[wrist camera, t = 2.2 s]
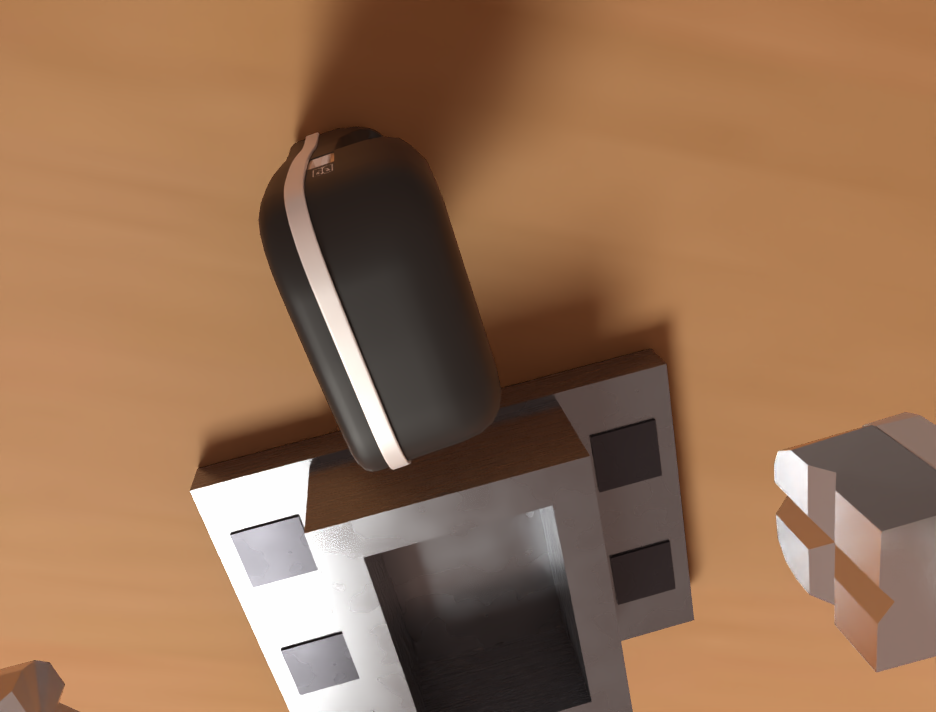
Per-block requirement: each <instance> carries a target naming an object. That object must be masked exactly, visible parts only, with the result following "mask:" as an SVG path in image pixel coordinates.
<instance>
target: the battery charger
mask: <svg viewBox="0 0 936 712" xmlns="http://www.w3.org/2000/svg"><path fill="white" fill-rule="evenodd" d="M259 228H260V235H261V239H262V243H263V247H264V251H265V254H266V257H267V260H268V263H269V266H270V269H271V272H272V275H273V277H274V280H275V282H276V285H277V287H278V289H279V292H280V294H281V297H282V299H283V301H284V304H285V306H286V308H287V311H288V313H289V315H290V318H291V320H292V322H293V324H294V327H295V329H296V331H297V334H298V336H299V338H300V341H301V343H302V345H303V348H304V350H305V352H306V354H307V357H308V359H309V361H310V364H311V366H312V368H313V371H314V373H315V375H316V377H317V379H318V382H319V384H320V386H321V388H322V391H323V393H324V395H325V397H326V400H327V402H328V404H329V406H330V408H331V411H332V413H333V415H334V417H335V420H336V422H337V424H338V426H339V429H340V431H341V433H342V435H343V437H344V439H345V442H346V444H347V446H348V448H349V450H350V452H351V454H352V455H353V457H354V459H355V460H356V462H357V463H358V464H359V465H360V466H361V467H363V468H364V469H365V470H367V471H372V472H374V471H379V470H383V469H385V468H388V467H390V468H391V469H393V470H394V469H397V468H400V467H403V466H406V465H409V464H410V463H411V459H414V458H417V457H420V456H423V455H426V454H429V453H432V452H434V451H437V450H440V449H443V448H446V447H449V446H452V445H455V444H457V443H460V442H463V441H466V440H468V439H470V438H472V437H474V436H476V435H478V434H480V433H482V432H483V431H484V430H485V429H486V428H487V427H488V426H489V425H491V424H492V423H493V421H494V419H495V417H496V415H497V413H498V411H499V409H500V402H501V392H502V391H501V386H500V381H499V377H498V372H497V368H496V364H495V361H494V358H493V354H492V351H491V348H490V345H489V342H488V339H487V336H486V332H485V329H484V326H483V323H482V320H481V317H480V314H479V310H478V307H477V304H476V301H475V298H474V295H473V291H472V288H471V285H470V282H469V279H468V276H467V273H466V270H465V267H464V264H463V260H462V257H461V254H460V250H459V247H458V244H457V241H456V238H455V235H454V232H453V228H452V225H451V222H450V219H449V216H448V212H447V209H446V206H445V203H444V201H443V198H442V195H441V193H440V190H439V188H438V185H437V183H436V180H435V178H434V176H433V173H432V171H431V169H430V167H429V165H428V163H427V161H426V159H425V158H424V157H423V156H421V155H420V154H419V153H418V152H417V151H416V150H415V149H414V148H413V147H412V146H411V145H409V144H408V143H406V142H405V141H403V140H401V139H400V138H393V137H384V136H382V135H381V134H380V133H378V132H377V131H375V130H373V129H370V128H364V127H349V128H338V129H335V130H332V131H329V132H326V133H323V134H320V135H319V133H318V132H317V133H314V134H311V135H308V136H306V139H305V140H302V141H299V142H297V143H295V144H294V145H293V146H292V147H291V149H290V153H289V155H288V157H287V160H286V161H285V162H284V163H283V165H282V166H281V167H280V168H279V169H278V171H277V172H276V173H275V174H274V176H273V177H272V179H271V180H270V182H269V184H268V186H267V189H266V191H265V194H264V196H263V199H262V202H261V206H260V213H259Z"/></svg>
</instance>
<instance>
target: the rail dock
mask: <svg viewBox="0 0 936 712" xmlns="http://www.w3.org/2000/svg"><path fill="white" fill-rule="evenodd" d="M501 391H502V392H501V402H500V409H499V411H498V413H497V415H496V417H495V419H494V421H493V423H492V424H491V425H489V426H488V427H487V428H486V429H485V430H484V431H483V432H482V433H480V434H478V435H476V436H474V437H472V438H470V439H468V440H466V441H463V442H460V443H457V444H455V445H452V446H449V447H446V448H443V449H440V450H437V451H434V452H432V453H429V454H426V455H423V456H420V457H417V458H414V459H411V463H410V464H409V465H406V466H403V467H400V468H397V469H394V470H393V469H391V468H390V467H388V468H385V469H383V470H379V471H374V472H372V471H367V470H365V469H364V468H363V467H361V466H360V465H359V464H358V463H357V462H356V460H355V459H354V457H353V455H352V454H351V452H350V450H349V448H348V446H347V444H346V442H345V439H344V437H343V435H342V433H341V431H338V432H334V433H330V434H327V435H323V436H319V437H315V438H312V439H308V440H304V441H300V442H296V443H293V444H289V445H285V446H281V447H278V448H274V449H270V450H266V451H262V452H259V453H255V454H251V455H247V456H244V457H240V458H236V459H232V460H228V461H225V462H221V463H217V464H213V465H210V466H206V467H202V468H198V469H197V472H196V475H195V478H194V481H193V483H192V486H191V489H190V492H191V494H192V496H193V499H194V501H195V503H196V505H197V507H198V510H199V512H200V514H201V516H202V518H203V521H204V523H205V525H206V527H207V530H208V532H209V534H210V536H211V538H212V541H213V543H214V545H215V547H216V549H217V552H218V554H219V556H220V558H221V560H222V563H223V565H224V567H225V569H226V571H227V574H228V576H229V578H230V580H231V583H232V585H233V587H234V589H235V591H236V594H237V596H238V598H239V600H240V602H241V605H242V607H243V609H244V611H245V613H246V616H247V618H248V620H249V622H250V624H251V627H252V629H253V631H254V633H255V635H256V638H257V640H258V642H259V644H260V647H261V649H262V651H263V653H264V655H265V658H266V660H267V662H268V664H269V666H270V669H271V671H272V673H273V675H274V677H275V680H276V682H277V684H278V686H279V688H280V691H281V693H282V695H283V697H284V699H285V702H286V704H287V706H288V708H289V711H290V712H633V711H632V705H631V699H630V693H629V687H628V681H627V675H626V669H625V663H624V657H623V651H622V645H621V641H623V640H626V639H630V638H633V637H636V636H640V635H643V634H647V633H650V632H654V631H657V630H661V629H664V628H668V627H671V626H675V625H678V624H682V623H685V622H689V621H692V620H694V615H693V606H692V597H691V587H690V578H689V569H688V560H687V550H686V541H685V532H684V522H683V513H682V504H681V495H680V485H679V476H678V467H677V457H676V448H675V439H674V430H673V420H672V411H671V402H670V392H669V383H668V374H667V364H666V363H665V362H664V361H663V360H662V359H661V358H660V357H659V356H658V355H657V354H656V353H655V352H654V351H653V350H652V349H647V350H644V351H640V352H636V353H632V354H629V355H625V356H621V357H617V358H613V359H610V360H606V361H602V362H598V363H595V364H591V365H587V366H583V367H580V368H576V369H572V370H568V371H564V372H561V373H557V374H553V375H549V376H546V377H542V378H538V379H534V380H530V381H527V382H523V383H519V384H515V385H512V386H508V387H504V388H501Z"/></svg>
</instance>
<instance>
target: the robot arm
mask: <svg viewBox="0 0 936 712" xmlns="http://www.w3.org/2000/svg"><path fill="white" fill-rule="evenodd" d="M774 472H775V483H776V484H777V485H778V486H779V487H780V488H781V489H782V490H783V491H784V492H785V493H786V494H787V497H786V498H785V500H784V502H783V503H782V505H781V507H780V508H779V510H778V511H777V513H776V521H777V533H778V540H779V543H780V545H781V548H782V551H783V554H784V557H785V560H786V562H787V564H788V566H789V567H790V569H791V571H792V572H793V574H794V576H795V577H796V579H797V580H798V581H799V583H800V584H801V585H802V586H803V587H804V589H805V590H806V591H807V592H808V593H809V595H812V596H814V597H816V598H819V599H821V600H824V601H826V602H829V603H831V604H833V605H835V625H836V626H837V628H838V629H839V630H840V631H841V632H842V633H843V634H844V636H845V637H846V638H847V639H848V640H849V641H850V643H851V644H852V645H853V646H854V647H855V648H856V650H857V651H858V652H859V653H860V654H861V655H862V656H863V658H864V659H865V660H866V661H867V662H868V663H869V665H870V666H871V667H872V668H873V669H874V670H875V672H880V671H883V670H887V669H891V668H894V667H898V666H902V665H905V664H909V663H913V662H916V661H920V660H924V659H927V658H931V657H935V656H936V425H935V424H933V423H931V422H930V421H928V420H927V419H925V418H924V417H922V416H920V415H917V414H912V413H907V412H904V413H901V414H898V415H895V416H891V417H888V418H885V419H882V420H878V421H875V422H872V423H869V424H866V425H863V426H862V427H861V428H857V429H853V430H850V431H846V432H843V433H839V434H836V435H832V436H829V437H825V438H822V439H818V440H815V441H812V442H808V443H805V444H801V445H798V446H794V447H791V448H787V449H784V450H780V451H778V454H777V457H776V460H775V463H774ZM64 686H65V684H64V682H63V681H62V679H61V678H60V677H59V675H58V674H57V672H56V671H55V669H54V668H53V667H52V665H51V664H50V662H43V661H36V660H34V661H30V662H26V663H22V664H18V665H14V666H11V667H7V668H3V669H0V712H79V711H77V710H75V709H72V708H70V707H68V706H66V705H63V704H61V703H60V699H61V696H62V693H63V689H64Z"/></svg>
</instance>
